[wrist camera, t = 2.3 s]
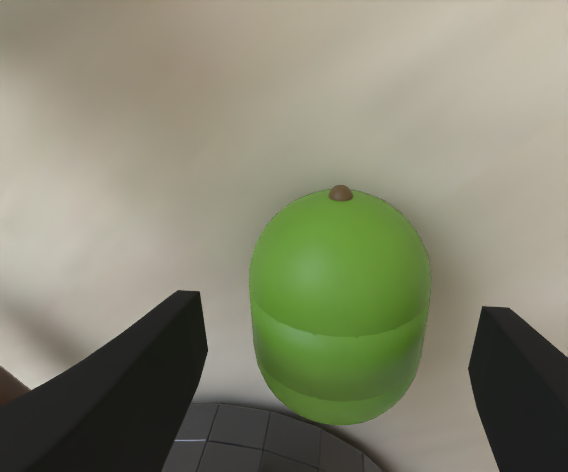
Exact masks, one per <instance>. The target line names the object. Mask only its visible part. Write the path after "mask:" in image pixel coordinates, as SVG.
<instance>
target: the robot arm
mask: <svg viewBox="0 0 568 472" xmlns="http://www.w3.org/2000/svg"><path fill="white" fill-rule="evenodd" d="M207 352H208V346H207V339H206V332H205V325H204V318H203V311H202V304H201V297H200V291H181V290H178V291H176V292H175V293H173V294H172V295H171V296H169V297H168V298H167V299H165V300H164V301H163V302H162V303H160V304H159V305H158V306H156V307H155V308H154V309H153V310H151V311H150V312H149V313H147V314H146V315H145V316H144V317H142V318H141V319H140V320H138V321H137V322H136V323H134V324H133V325H132V326H130V327H129V328H128V329H127V330H125V331H124V332H123V333H121V334H120V335H119V336H117V337H116V338H114V339H113V340H111V341H110V342H108V343H107V344H106V345H104V346H103V347H101V348H100V349H98V350H97V351H96V352H94V353H93V354H91V355H90V356H88V357H87V358H85V359H84V360H82V361H81V362H79V363H78V364H76V365H74V366H73V367H71V368H70V369H68V370H66V371H65V372H63V373H61V374H60V375H58V376H56V377H54V378H53V379H51V380H49V381H48V382H46V383H44V384H42V385H41V386H39V387H37V388H35V389H33V390H31V391H29V392H27V393H25V394H23V395H21V396H19V397H17V398H15V399H13V400H12V401H10V402H8V403H6V404H4V405H2V406H0V472H162V469H163V467H164V464H165V461H166V459H167V457H168V455H169V452H170V450H171V448H172V445H173V443H174V441H175V438H176V436H177V434H178V431H179V429H180V427H181V424H182V422H183V420H184V418H185V415H186V413H187V411H188V408H189V406H190V403H191V401H192V399H193V396H194V394H195V392H196V389H197V387H198V384H199V381H200V378H201V374H202V371H203V367H204V364H205V360H206V356H207ZM468 370H469V375H470V380H471V385H472V390H473V394H474V398H475V402H476V407H477V410H478V413H479V416H480V418H481V421H482V424H483V427H484V430H485V433H486V435H487V438H488V441H489V444H490V446H491V449H492V452H493V455H494V457H495V460H496V463H497V466H498V468H499V471H500V472H568V357H566V356H565V355H564V354H563V353H562V352H560V351H559V350H558V349H557V348H556V347H554V346H553V345H552V344H551V343H550V342H549V341H547V340H546V339H545V338H544V337H543V336H542V335H540V334H539V333H538V332H537V331H536V330H535V329H534V328H532V327H531V326H530V325H529V324H528V323H527V322H525V321H524V320H523V319H522V318H521V317H520V316H518V315H517V314H516V313H515V312H513V311H512V310H511V309H510V308H506V307H487V306H482V310H481V314H480V319H479V323H478V328H477V332H476V336H475V341H474V345H473V350H472V354H471V358H470V363H469V367H468Z"/></svg>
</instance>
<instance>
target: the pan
mask: <svg viewBox="0 0 568 472" xmlns="http://www.w3.org/2000/svg"><path fill="white" fill-rule="evenodd" d="M162 472H384V471H382V470H381V469H380V468H379V467H378V466H377V465H376V464H375V463H374V462H373V461H372V460H371V459H370V458H369V457H368V456H366V455H365V454H364V453H362V452H361V451H360V450H358V449H356V448H355V447H353V446H351V445H349V444H348V443H346V442H344V441H342V440H341V439H339V438H337V437H336V436H334V435H332V434H330V433H329V432H327V431H325V430H323V429H320V427H317V426H314V425H311V424H309V423H306V422H303V421H300V420H297V419H294V418H291V417H288V416H285V415H282V414H280V413H277V412H274V411H271V412H270V411H267V410H261V409H254V408H247V407H241V406H234V405H228V404H219V403H208V404H190V406H189V408H188V411H187V413H186V415H185V418H184V420H183V422H182V424H181V427H180V429H179V431H178V434H177V436H176V438H175V441H174V443H173V445H172V448H171V450H170V452H169V455H168V457H167V459H166V461H165V464H164V467H163V469H162Z"/></svg>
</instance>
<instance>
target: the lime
mask: <svg viewBox="0 0 568 472" xmlns="http://www.w3.org/2000/svg"><path fill="white" fill-rule="evenodd" d="M249 290H250V303H251V316H252V329H253V342H254V349H255V354H256V358H257V363H258V366H259V369H260V371H261V373H262V375H263V377H264V379H265V381H266V383H267V385H268V387H269V388H270V389H271V390H272V392H273V393H274V394H275V396H276V397H277V398H278V399H279V400H280V401H281V402H282V403H284V404H285V405H286V406H287V407H288V408H289V409H291V410H292V411H293V412H295V413H297V414H299V415H300V416H302V417H304V418H307V419H309V420H312V421H315V422H318V423H324V424H330V425H351V424H358V423H363V422H365V421H368V420H371V419H374V418H376V417H377V416H379V415H381V414H382V413H384V412H386V411H387V410H388V409H390V408H391V407H392V406H394V405H395V404H396V403H397V402H398V401H399V400H400V399H401V398H402V397H403V395H404V394H405V392H406V391H407V389H408V388H409V386H410V384H411V382H412V381H413V379H414V377H415V375H416V371H417V368H418V365H419V361H420V358H421V353H422V346H423V340H424V333H425V327H426V320H427V314H428V307H429V301H430V293H431V272H430V265H429V261H428V256H427V252H426V250H425V247H424V245H423V243H422V241H421V239H420V237H419V235H418V233H417V231H416V230H415V229H414V227H413V226H412V225H411V224H410V222H409V221H408V220H407V219H406V218H405V217H404V216H403V215H402V214H401V213H400V212H399V211H398V210H396V209H395V208H394V207H392V206H391V205H390V204H388V203H387V202H385V201H383V200H381V199H379V198H377V197H374V196H372V195H369V194H366V193H363V192H360V191H355V190H350V189H349V188H348V187H346V186H344V185H338V186H335V187H334V188H332V189H331V190H323V191H319V192H315V193H312V194H309V195H306V196H304V197H301V198H299V199H297V200H295V201H294V202H292V203H291V204H289V205H288V206H286V207H285V208H283V209H282V210H281V211H280V212H279V213H277V214H276V215H275V217H274V218H273V219H272V220H271V221H270V222H269V223H268V224H267V226H266V227H265V229H264V231H263V232H262V234H261V236H260V238H259V240H258V241H257V243H256V245H255V249H254V252H253V256H252V259H251V264H250V274H249Z"/></svg>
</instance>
